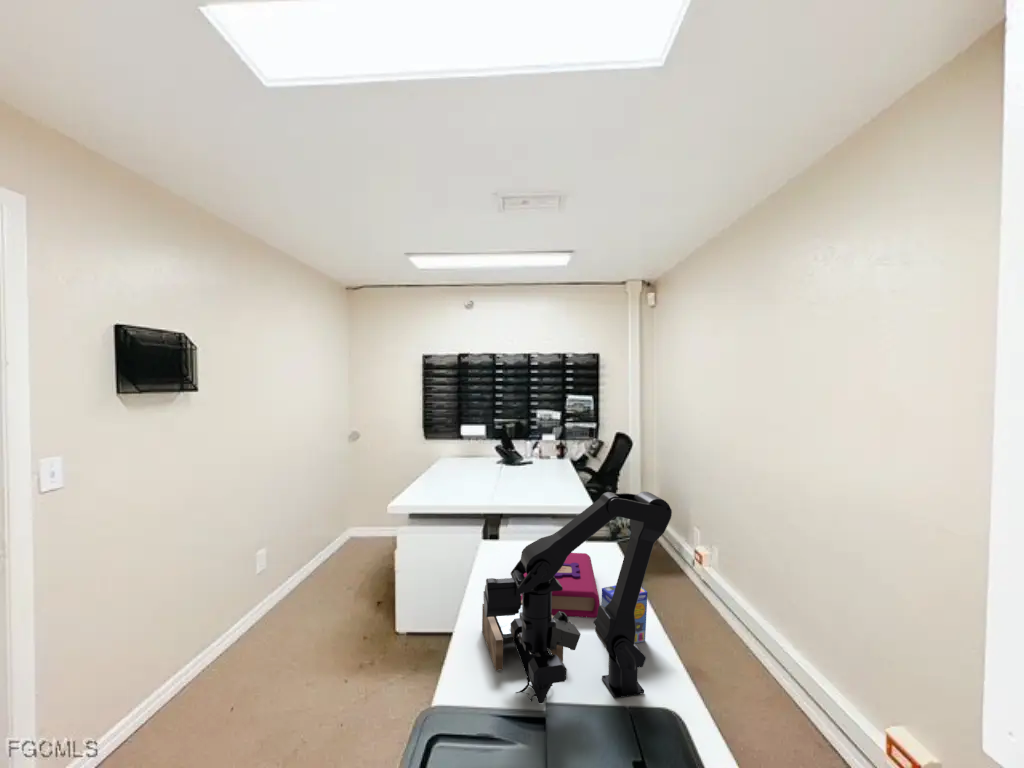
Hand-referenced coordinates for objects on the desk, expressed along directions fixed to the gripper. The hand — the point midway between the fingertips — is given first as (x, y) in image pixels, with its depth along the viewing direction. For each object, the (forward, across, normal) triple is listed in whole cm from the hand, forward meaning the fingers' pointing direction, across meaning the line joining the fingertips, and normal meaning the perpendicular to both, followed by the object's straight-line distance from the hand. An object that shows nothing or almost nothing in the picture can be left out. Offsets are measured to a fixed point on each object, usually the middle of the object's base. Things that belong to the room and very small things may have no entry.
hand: (535, 690), depth 96 cm
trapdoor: (-5, +18, -2) cm, 18 cm away
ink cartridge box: (+1, +15, -26) cm, 30 cm away
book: (+2, +42, -19) cm, 46 cm away
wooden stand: (+1, +18, -2) cm, 18 cm away
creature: (+1, 0, 0) cm, 1 cm away
